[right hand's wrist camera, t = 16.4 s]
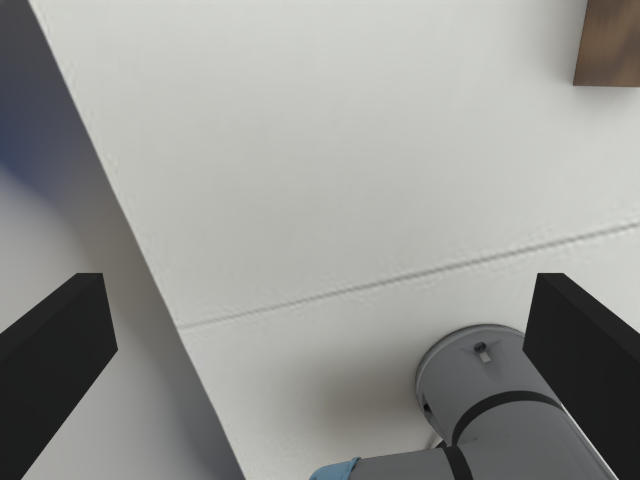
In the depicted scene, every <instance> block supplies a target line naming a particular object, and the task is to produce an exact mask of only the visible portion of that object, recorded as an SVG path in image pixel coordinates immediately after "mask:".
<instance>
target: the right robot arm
mask: <svg viewBox="0 0 640 480" xmlns="http://www.w3.org/2000/svg"><path fill="white" fill-rule="evenodd" d="M117 351H118V348H117V343H116V338H115V333H114V328H113V323H112V318H111V313H110V308H109V303H108V298H107V294H106V289H105V284H104V279H103V274H102V273H76V274H75V275H74V276H73V277H71V278H70V279H69V280H68V281H66V282H65V283H64V284H63V285H61V286H60V287H59V288H57V289H56V290H55V291H54V292H52V293H51V294H50V295H49V296H47V297H46V298H45V299H44V300H42V301H41V302H40V303H39V304H37V305H36V306H35V307H34V308H32V309H31V310H30V311H28V312H27V313H26V314H25V315H23V316H22V317H21V318H20V319H18V320H17V321H16V322H15V323H13V324H12V325H11V326H10V327H8V328H7V329H6V330H5V331H3V332H2V333H1V334H0V480H21V479H22V478H23V476H24V475H25V474H26V472H27V471H28V469H29V468H30V467H31V465H32V464H33V463H34V461H35V460H36V459H37V457H38V456H39V455H40V453H41V452H42V451H43V449H44V448H45V447H46V445H47V444H48V443H49V441H50V440H51V439H52V437H53V436H54V435H55V433H56V432H57V431H58V429H59V428H60V427H61V425H62V424H63V423H64V421H65V420H66V419H67V417H68V416H69V415H70V413H71V412H72V411H73V409H74V408H75V407H76V405H77V404H78V403H79V401H80V400H81V399H82V397H83V396H84V395H85V393H86V392H87V391H88V389H89V388H90V387H91V385H92V384H93V383H94V381H95V380H96V379H97V377H98V376H99V375H100V373H101V372H102V371H103V369H104V368H105V367H106V365H107V364H108V363H109V361H110V360H111V359H112V357H113V356H114V355H115V353H116V352H117ZM415 390H416V395H417V398H418V402H419V405H420V408H421V410H422V412H423V414H424V416H425V417H426V419H427V421H428V422H429V423H430V425H431V426H432V427H433V428H434V429H435V431H436V432H437V433H438V434H439V435H440V437H441V438H442V439H443V441H442V442H441V443H439V444H438V445H437V446H436V447H435V448H434V449H428V450H421V451H414V452H407V453H400V454H393V455H386V456H379V457H373V458H366V459H361V457H355V458H353V459H352V460H351V461H348V462H343V463H338V464H333V465H328V466H324V467H321V468H319V469H318V470H317V471H315V472H314V473H313V475H312V476H311V477H310V479H309V480H616V478H615V477H614V476H613V474H612V473H611V472H610V470H609V469H608V468H607V466H606V465H605V464H604V462H603V461H602V460H601V458H600V457H599V456H598V454H597V453H596V452H595V450H594V449H593V448H592V446H591V445H590V444H589V442H588V441H587V440H586V438H585V437H584V436H583V434H582V433H581V432H580V430H579V429H578V428H577V426H576V425H575V424H574V422H573V421H572V420H571V419H570V417H569V416H568V415H567V413H566V412H565V411H564V409H563V408H562V406H561V403H562V404H563V405H564V407H565V408H566V409H567V411H568V412H569V413H570V415H571V416H572V417H573V419H574V420H575V421H576V423H577V424H578V425H579V427H580V428H581V429H582V431H583V432H584V433H585V435H586V436H587V437H588V439H589V440H590V441H591V443H592V444H593V445H594V447H595V448H596V449H597V451H598V452H599V453H600V455H601V456H602V457H603V459H604V460H605V461H606V463H607V464H608V465H609V467H610V468H611V469H612V471H613V472H614V474H615V475H616V476H617V478H618V479H619V480H640V334H639V333H638V332H637V331H635V330H634V329H633V328H632V327H630V326H629V325H628V324H627V323H625V322H624V321H623V320H622V319H620V318H619V317H618V316H617V315H615V314H614V313H613V312H612V311H610V310H609V309H608V308H606V307H605V306H604V305H603V304H601V303H600V302H599V301H598V300H596V299H595V298H594V297H593V296H591V295H590V294H589V293H588V292H586V291H585V290H584V289H583V288H581V287H580V286H579V285H577V284H576V283H575V282H574V281H572V280H571V279H570V278H569V277H567V276H566V275H565V274H564V273H538V274H537V279H536V284H535V289H534V294H533V298H532V303H531V308H530V313H529V318H528V323H527V328H526V333H525V335H524V334H523V333H521V332H519V331H517V330H514V329H512V328H508V327H504V326H498V325H481V326H474V327H469V328H465V329H462V330H460V331H457V332H455V333H453V334H451V335H449V336H447V337H445V338H444V339H442V340H441V341H439V342H438V343H437V344H436V345H435V346H434V347H432V348H431V349H430V351H429V352H428V353H427V354H426V356H425V357H424V358H423V360H422V362H421V363H420V366H419V368H418V371H417V374H416V379H415ZM560 401H561V402H560ZM447 446H449V447H447Z"/></svg>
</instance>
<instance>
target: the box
mask: <svg viewBox="0 0 640 480" xmlns="http://www.w3.org/2000/svg"><path fill="white" fill-rule="evenodd" d="M573 86H607V87H640V0H588V5H587V11H586V16H585V22H584V28H583V33H582V39H581V44H580V50H579V55H578V61H577V67H576V72H575V78H574V83H573Z"/></svg>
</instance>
